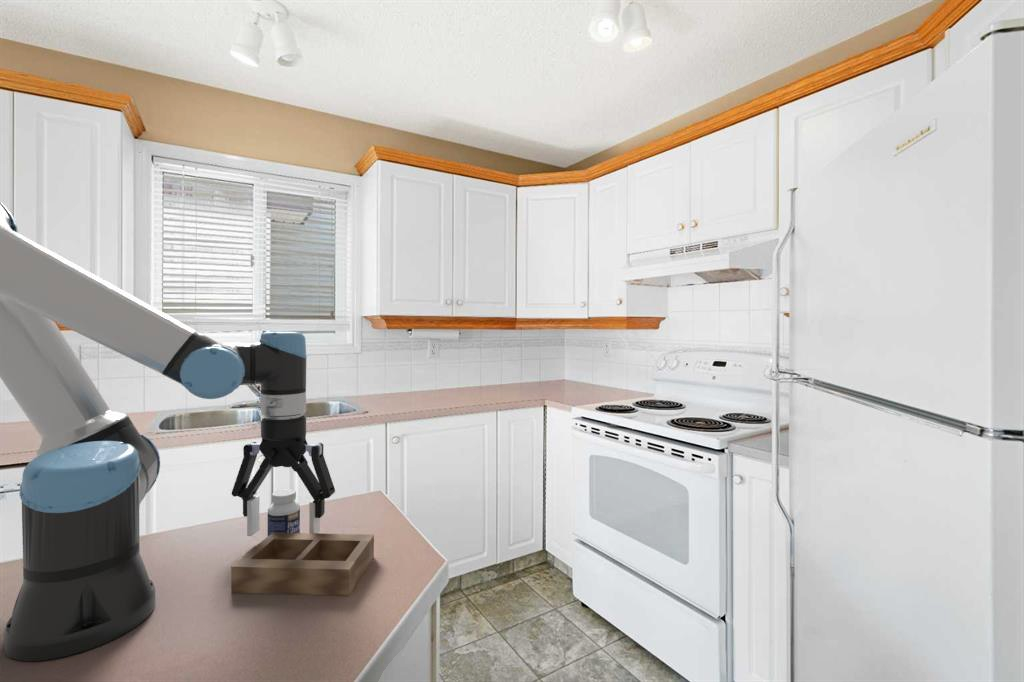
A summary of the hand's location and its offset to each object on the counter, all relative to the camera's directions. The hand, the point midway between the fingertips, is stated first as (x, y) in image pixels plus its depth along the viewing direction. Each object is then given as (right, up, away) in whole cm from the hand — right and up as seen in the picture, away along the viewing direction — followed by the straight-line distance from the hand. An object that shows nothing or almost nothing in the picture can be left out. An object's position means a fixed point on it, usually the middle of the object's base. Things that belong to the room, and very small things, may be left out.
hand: (284, 533), depth 88 cm
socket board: (+9, -2, -10) cm, 14 cm away
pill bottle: (0, -2, 0) cm, 2 cm away
